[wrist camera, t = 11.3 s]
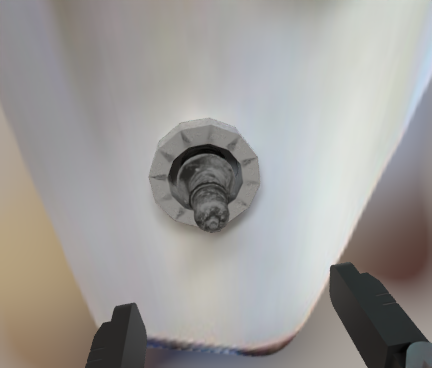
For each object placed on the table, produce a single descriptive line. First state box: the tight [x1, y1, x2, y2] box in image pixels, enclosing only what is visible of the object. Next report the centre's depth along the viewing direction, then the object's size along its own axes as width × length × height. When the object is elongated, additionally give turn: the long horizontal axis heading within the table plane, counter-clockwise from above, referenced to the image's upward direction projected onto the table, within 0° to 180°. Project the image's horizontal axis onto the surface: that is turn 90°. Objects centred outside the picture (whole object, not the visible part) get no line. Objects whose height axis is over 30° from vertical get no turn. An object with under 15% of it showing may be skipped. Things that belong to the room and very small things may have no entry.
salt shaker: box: [177, 146, 235, 232], centre depth 28 cm, size 6×6×12 cm
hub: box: [149, 118, 260, 233], centre depth 32 cm, size 12×11×3 cm
